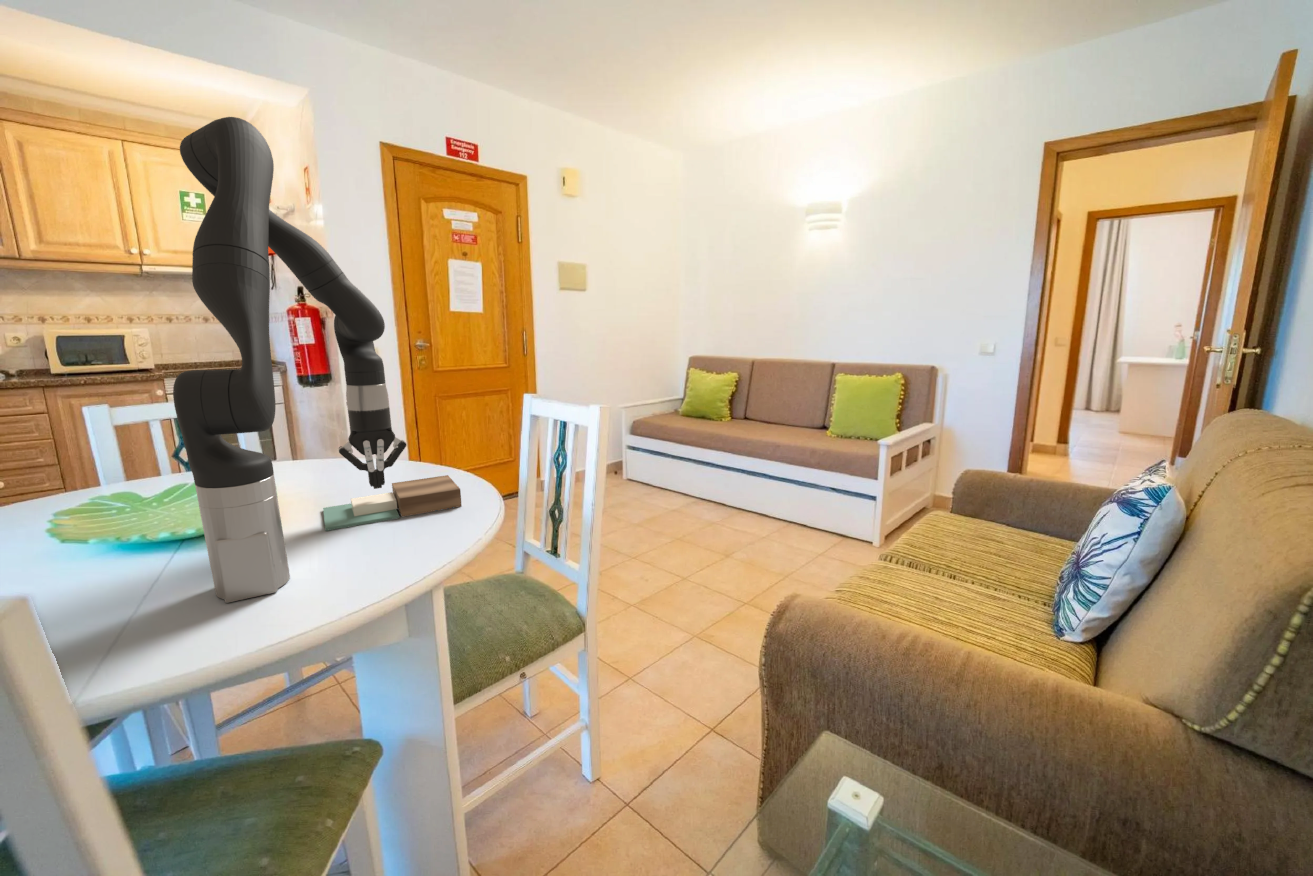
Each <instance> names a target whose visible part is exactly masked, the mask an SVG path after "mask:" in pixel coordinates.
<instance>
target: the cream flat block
mask: <svg viewBox="0 0 1313 876" xmlns="http://www.w3.org/2000/svg"><path fill="white" fill-rule="evenodd" d="M350 504H351V505H352V510H353V513H354V516H359V515H365V514H371V513H377V512H383V511H388V510H394V509H396V510H398V508H397V501H396V498H395V497H394V495H393V491H391V492H386V493H380V494H372V495H366V496H360V497H359V496H358V497H353V498H350Z"/></svg>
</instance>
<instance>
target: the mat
mask: <svg viewBox="0 0 1313 876" xmlns="http://www.w3.org/2000/svg"><path fill="white" fill-rule="evenodd" d="M322 509H323V511H322V512H323V520H324V521H323V522H324V529H325V530H324V531H325V532H328V531H333V530H339V529H345V528H350V527H355V526H362V525H366V524H368V525H369V524H373V523H378V522H379V523H380V522H384V521H391V520H397V519H400V515H399V514H400V513H399V511H398V509H394V510H388V511H383V512H377V513H371V514H365V515H359V516H354V513H353V510H352V505H351V503H346V504H339V505H332V506H326V507H323V508H322Z"/></svg>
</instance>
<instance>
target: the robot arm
mask: <svg viewBox="0 0 1313 876" xmlns="http://www.w3.org/2000/svg"><path fill="white" fill-rule="evenodd" d="M179 153H180V154H179V155H180V157H181V159H182V162H183V164H184V165H185V167H186V168H187V169H188V171H189V172H190V173H191V174H192V175H193V177H194V178H195V179H196V180H197V181H198V183H200V184H201V186H203V187H204V188H205V189H206V191H208V192H209V193H210V194H211V195H212V196H213V198H212V201H211V203H210V205H209V207H208V209H207V211H206V214H205V215H204V218H203V219H202V222H201V224H200V226H199V228H198V229H197V232H196V235H195V237H194V241H193V246H192V267H191V268H192V269H191V270H192V271H191V272H192V273H191V274H192V276H191V279H192V281H191V282H192V286H193V289H194V291H195V293H196V295H197V296H198V297H199V300H200V301H201V302H202V304H203V305H204V306H205V308H207V309H208V311H209V312H210V313H211V315H213V316H214V318H215V319H216V320H217V321H218V322H219V323H220V324H221V325H222V326H223V328H224V329H225V330H226V331H227V332H228V334H229V336H230V337H231V338H232V340H233V341H234V342H235V345H237V348H238V350H239V352H240V356H241V368H238V369H237V368H233V369H232V368H231V369H227V368H226V369H194V370H193V369H191V370H185V371H182V372H180V373H179V374H178V375H177V376H176V378H175V380H174V383H173V386H172V387H173V389H172V397H173V403H174V406H173V407H174V410H175V413H176V419H177V422H178V425H179V428H180V434H181V436H182V441H183V444H184V448H185V452H186V457H187V461H188V465H189V468H190V471H191V473H192V476H193V481H194V486H195V487H194V488H195V491H196V497H197V502H198V503H197V504H198V507H199V513H200V518H201V524H202V529H203V530H202V531H203V535H204V539H205V545H206V550H207V555H208V560H209V564H210V565H209V566H210V571H211V575H212V581H213V586H214V591H215V595H216V597H218V598H219V599H221V600H224V603H225V604H226V603H232V602H237V601H242V600H246V599H252V598H255V597H260V596H266V595H269V594H273V593H276V592H278V589H280V588H281V587H283V586H284V585H286V584H287V582H289V580H290V579H291V574H290V569H289V562H288V557H287V556H288V555H287V550H286V544H285V537H284V532H283V531H284V530H283V526H282V525H283V524H282V517H281V512H280V506H279V498H278V493H277V491H278V490H277V486H276V485H277V484H276V479H275V472H274V465H273V461H272V459H271V457H270V456H268V455H267V454H264V453H262V452H259V451H253V450H250V449H245V448H241V447H239V446H236V445H234V444H232V443H230V442H229V441H227V440H225V439H224V438H223V436H222V435H232V434H235V435H236V434H246V433H248V434H249V433H258V432H259V433H260V432H265V431H268V430H269V429H270V428H271V427H272V426H273V425H274V421H275V418H276V417H275V415H276V393H275V381H274V373H273V364H272V351H271V343H270V342H271V339H270V298H271V297H270V292H271V291H270V290H271V289H270V288H271V286H270V285H271V284H270V283H271V281H270V280H271V278H270V277H271V275H270V274H271V273H270V258H269V248H270V249H271V251H272V252H274V254H275V255H276V256H277V257H279V259H280V260H281V261H282V262H283V263H284V265H286V267H287V268H288V269H289V270H290V272H292V273H293V275H294V276H295V278H297V280H298V281H299V282H300V283H301V285H302V286H303V287H304V288H305V289H306V290H307V291H308V293H309V294H310V295H311V296H312V298H314V299H315V300H316V301H317V302H319V303H320V304H323V305H325V306H326V307H327V308H328V309H329V310H330V311H331V312H332V313H333V314H334V318H333V319H334V320H333V329H334V334H335V339H336V342H337V345H338V346H337V347H338V349H339V352H340V355H341V358H342V360H343V367H344V368H343V369H344V370H343V371H344V376H345V384H346V385H345V388H346V389H345V390H346V391H345V398H346V399H345V400H346V408H347V415H348V422H349V436H348V439H347V440H348V441H347V442H345V444H344V445H342V446H341V445H340V446H339V447H338V453H339V454H340V455H341V456H342V457H343V458H345V459H346V460H347V461H348V462H349V463H351V464H352V465H353V466H354V467H355V468H356V469H357V470H359V471H365V472H367V475H368V483H369V486H370V488H371V487H373V490H374V489H375V490H376V489H382V487H383V486H384V485H385V483H386V480H385V478H386V477H385V473H384V472H385V469H387V468H391V467H392V466H394V464H395V462H396V461H397V460H398V458H399V457H400V456H401V454H402V453H403V452H404V450H405V449H406V448H407V443H406V441H405V440H403V439H400V438H399V437H396V434H395V432H394V431H393V429H392V420H391V418H392V417H391V409H390V401H389V392H388V388H387V383H386V375H385V366H384V361H383V358H382V357H381V356H380V355H378V354H377V351H376V347H375V344H374V341H377V340H379V339H380V338H381V337H382V336H383V334H384V332H385V329H386V325H385V320H384V317H383V316H382V315H383V314H382V313H381V312H380V311H379V309H378V308H377V307H376V305H375V303H373V302H372V301H371V299H369V298H368V297H367V296H366V295H365V294H364V293H363V292H362V291H361V290H360V289H359V288H358V287H357V286H356V285H354V284H353V283H352V282H351V281H350V279H349V278H348V277H347V275H346V274H345V272H344V271H343V270H342V268H341V267H340V266H339V265H338V264H337V262H336V261H335V260H334V258H333V257H332V255H330V254H329V252H328V251H327V250H326V249H325V248H324V247H323V246H322V244H320V243H319V242H318V241H317V240H316V239H314V238H313V237H312V236H311V235H308V234H307V233H306V232H304V231H302V230H300V229H299V228H298V227H296V226H293V225H292V224H291V223H289V222H287V221H286V220H285V219H282V217H280V216H279V215H277V214H276V213H275V212H273V211H272V210H271V209H270V202H271V193H272V187H273V178H274V169H275V168H274V167H275V166H274V158H273V154H272V151H271V148H270V145H269V144H268V142H267V140H266V139H265V137H264V136H263V134H262V133H261V132H260V130H259V129H257V127H255V126H254V125H253V124H252V123H250V122H249V121H247V120H245V119H242V118H239V117H235V116H226V117H222V118H219V119H218V118H217V119H215V120H212V121H211V122H209V123H207V124H205V125H203V126H202V127H200V128H198V129H196V130H195V131H193V132H192V133H191V132H190V133H189V134H188V135H186V136H185V137H183V139H182V140H181V141H180V144H179ZM391 445H392V447H393V449H392V451H391V452H390V453H389V455H388V457H387V458H386V459H385V453H387V452H388V450H389V449H390V447H391ZM353 448H354V449H355V450H356V451H357V452H359V454H360V455H362V456H364V459H365V462H363V461H361V460H360V459H359V458H358V457H356V456H355V454H353V453H354V450H353ZM373 455H375V463H374V458H373Z"/></svg>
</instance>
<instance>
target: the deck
mask: <svg viewBox="0 0 1313 876" xmlns="http://www.w3.org/2000/svg"><path fill="white" fill-rule="evenodd" d="M391 486H392V487H391V488H392V493H393V495H394V497H395V498H396V501H397V511H398V513H399V514H400V516H401V517H402V518H403V517H408V516H409V517H410V516H415V515H421V514H425V513H430V512H431V513H433V512H436V511H435V510H438V511H442V510H441V509H444V510H448V509H447V508H449V509H453V508H452V507H455V508H458V507H459V508H460V506H461V507H462V495H461V488H460V487H459V486H458V485H457V484H456V483H455V481H454V480H453V479H452V478H451V477H450V476H449V475H448V474H447V475H441V476H440V475H439V476H433V477H427V478H419V479H411V480H406V481H405V480H404V481H398V482H397V481H396V482H392V483H391Z"/></svg>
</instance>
